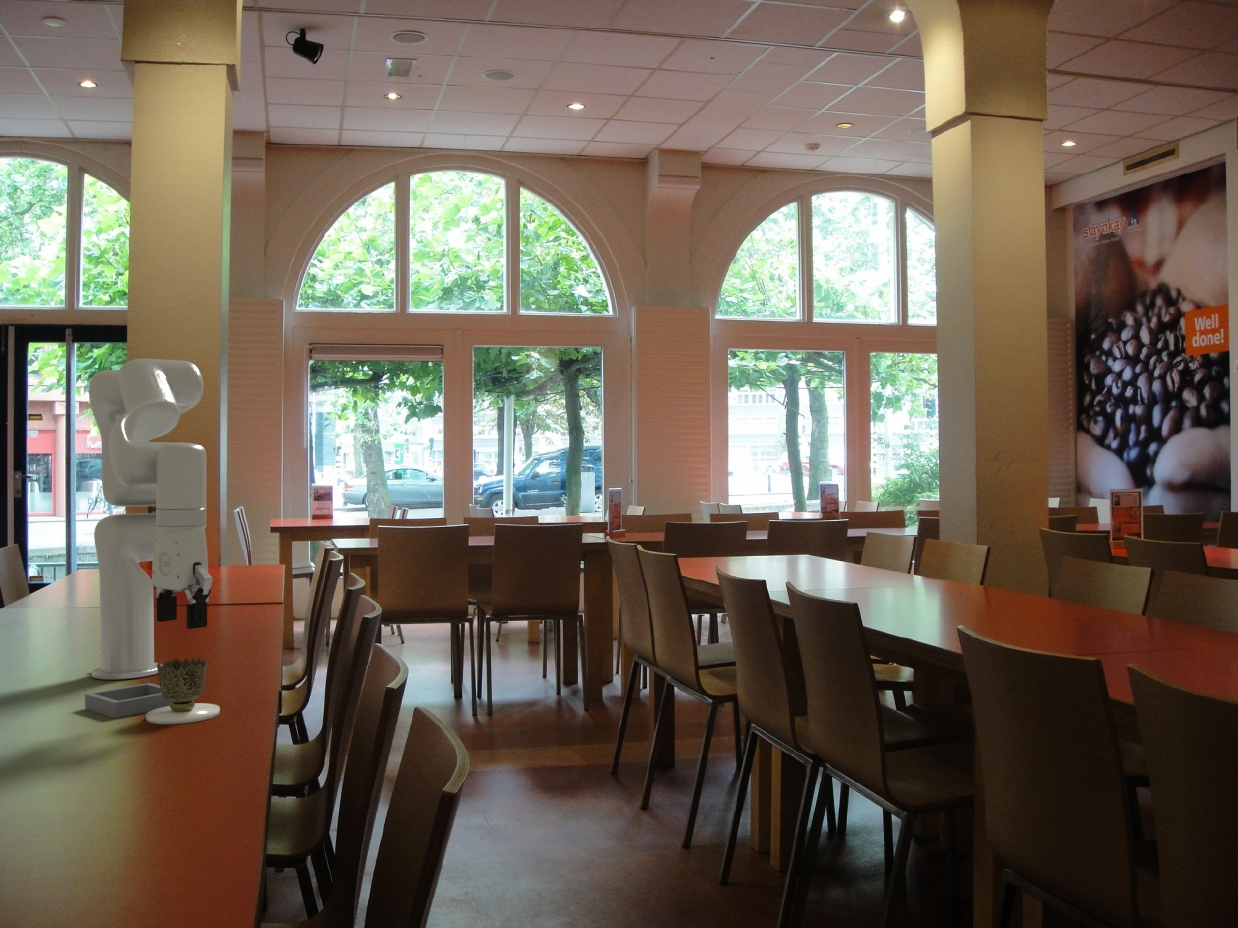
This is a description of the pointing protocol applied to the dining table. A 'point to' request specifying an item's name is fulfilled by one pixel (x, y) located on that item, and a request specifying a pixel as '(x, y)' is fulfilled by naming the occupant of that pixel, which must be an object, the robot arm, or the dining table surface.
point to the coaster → (183, 714)
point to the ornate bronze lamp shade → (182, 682)
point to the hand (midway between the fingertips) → (181, 624)
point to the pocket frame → (126, 700)
